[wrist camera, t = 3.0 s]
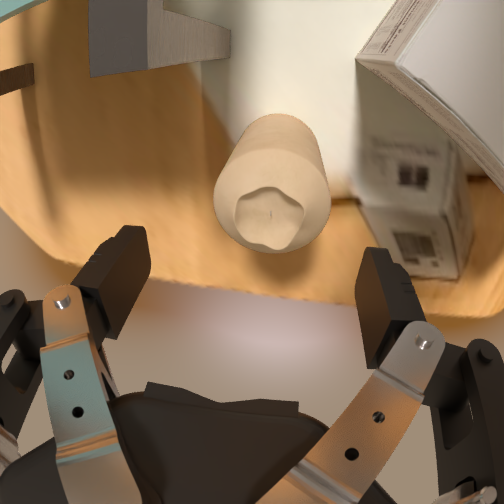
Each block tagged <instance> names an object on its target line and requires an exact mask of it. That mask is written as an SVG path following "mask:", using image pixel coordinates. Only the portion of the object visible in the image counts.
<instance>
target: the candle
mask: <svg viewBox="0 0 504 504" xmlns="http://www.w3.org/2000/svg"><path fill="white" fill-rule="evenodd" d="M213 204H214V210H215V214H216V216H217V219H218V221H219V223H220V225H221V226H222V228H223V229H224V230H225V232H226V233H227V234H228V235H229V236H230V237H231V238H233V239H234V240H235V241H236V242H238V243H239V244H241V245H243V246H245V247H247V248H249V249H252V250H255V251H258V252H263V253H273V254H275V253H285V252H290V251H294V250H297V249H299V248H301V247H303V246H305V245H307V244H308V243H310V242H311V241H313V240H314V239H315V238H316V237H317V236H318V235H319V234H320V232H321V231H322V230H323V228H324V227H325V225H326V223H327V221H328V218H329V215H330V210H331V196H330V190H329V186H328V182H327V178H326V173H325V169H324V165H323V162H322V158H321V154H320V150H319V146H318V143H317V140H316V138H315V136H314V134H313V132H312V131H311V129H310V128H309V127H308V126H307V125H306V124H305V123H303V122H302V121H301V120H299V119H297V118H295V117H293V116H290V115H286V114H270V115H266V116H263V117H261V118H259V119H257V120H255V121H254V122H253V123H251V124H250V125H249V126H248V128H247V129H246V130H245V131H244V133H243V135H242V136H241V138H240V140H239V141H238V143H237V145H236V147H235V148H234V150H233V152H232V154H231V156H230V157H229V159H228V161H227V163H226V165H225V166H224V168H223V170H222V172H221V174H220V176H219V177H218V179H217V182H216V185H215V188H214V194H213Z"/></svg>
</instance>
